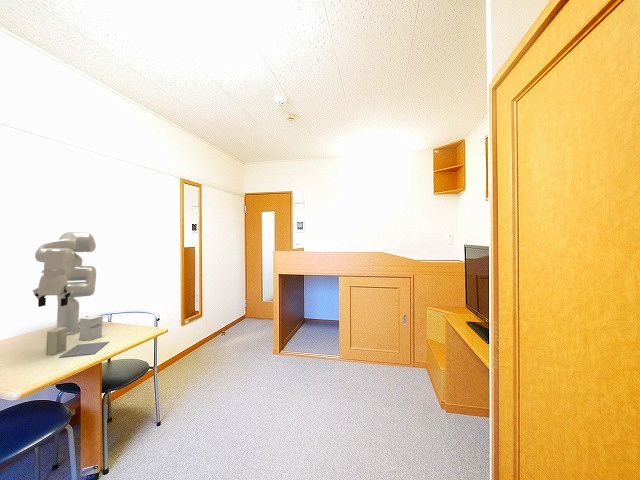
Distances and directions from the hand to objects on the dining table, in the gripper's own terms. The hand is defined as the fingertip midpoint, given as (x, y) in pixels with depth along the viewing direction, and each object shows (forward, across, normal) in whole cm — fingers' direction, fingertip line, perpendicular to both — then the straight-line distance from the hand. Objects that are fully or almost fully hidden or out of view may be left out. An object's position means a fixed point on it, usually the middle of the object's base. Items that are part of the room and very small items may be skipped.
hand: (53, 305), depth 125 cm
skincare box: (+25, +2, +1) cm, 25 cm away
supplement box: (+25, +4, +20) cm, 32 cm away
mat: (+24, +14, +3) cm, 28 cm away
